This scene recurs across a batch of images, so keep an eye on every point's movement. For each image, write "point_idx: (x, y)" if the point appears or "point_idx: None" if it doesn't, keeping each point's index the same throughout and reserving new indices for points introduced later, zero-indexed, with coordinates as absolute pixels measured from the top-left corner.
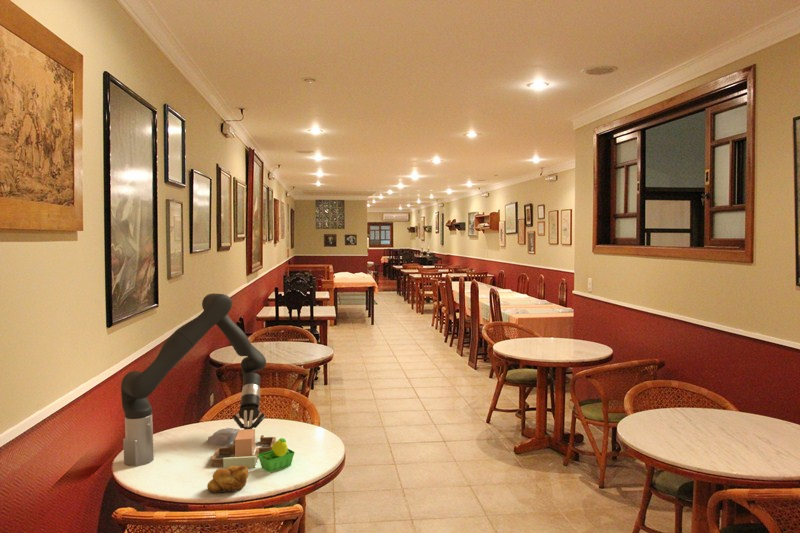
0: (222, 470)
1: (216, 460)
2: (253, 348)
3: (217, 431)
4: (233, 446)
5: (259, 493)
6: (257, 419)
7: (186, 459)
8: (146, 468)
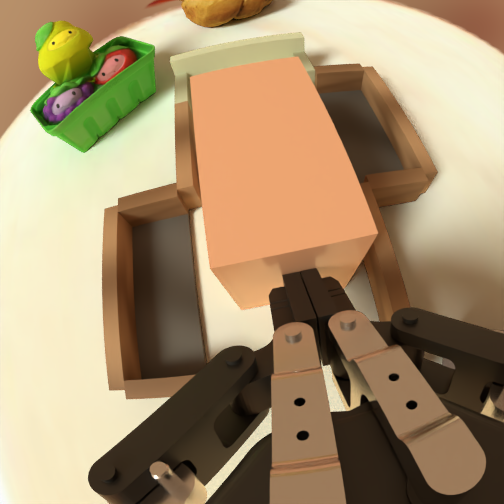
0: None
1: (347, 66)
2: None
3: None
4: None
5: (154, 18)
6: (193, 409)
7: (499, 150)
8: None
